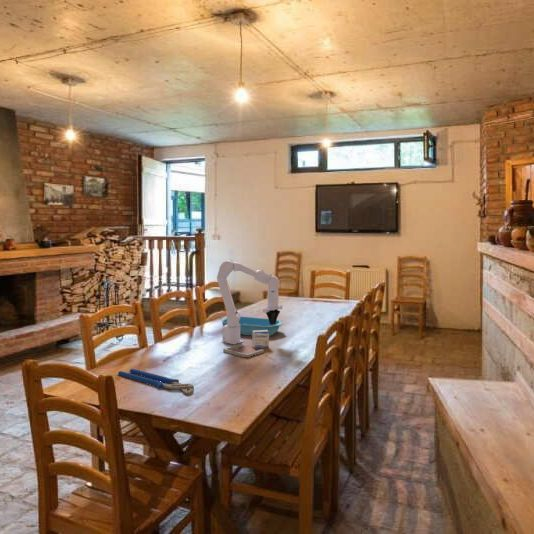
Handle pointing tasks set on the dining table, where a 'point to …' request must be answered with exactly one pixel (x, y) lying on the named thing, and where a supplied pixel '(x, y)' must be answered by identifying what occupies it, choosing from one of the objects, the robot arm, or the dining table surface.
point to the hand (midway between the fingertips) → (272, 324)
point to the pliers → (171, 384)
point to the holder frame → (229, 350)
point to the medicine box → (260, 338)
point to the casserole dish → (255, 325)
